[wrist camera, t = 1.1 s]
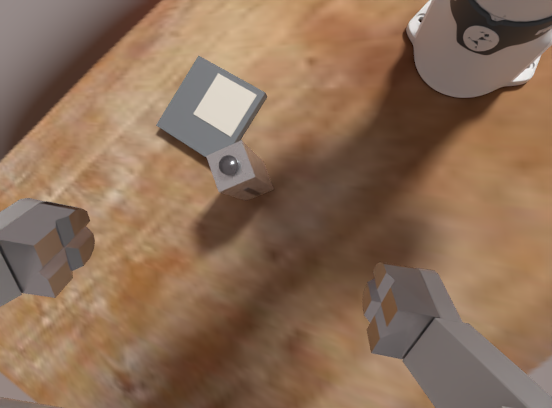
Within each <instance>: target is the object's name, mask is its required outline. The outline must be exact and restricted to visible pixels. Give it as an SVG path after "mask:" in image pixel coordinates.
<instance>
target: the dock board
mask: <svg viewBox="0 0 552 408" xmlns="http://www.w3.org/2000/svg"><path fill="white" fill-rule="evenodd" d="M266 98H267V95H266V93H265V92H263V91H261V90H260V89H258V88H256V87H254V86H252V85H251V84H249V83H247V82H245V81H243V80H242V79H240V78H238V77H236V76H234V75H233V74H231V73H229V72H227V71H225V70H224V69H222V68H220V67H218V66H216V65H215V64H213V63H211V62H209V61H207V60H205V59H204V58H202V57H200V56H198V58H197V59H196V61H195V62H194V64H193V66H192V67H191V69H190V71H189V72H188V74H187V76H186V77H185V79H184V80H183V82H182V84H181V85H180V87H179V89H178V90H177V92H176V94H175V95H174V97H173V99H172V100H171V102H170V103H169V105H168V107H167V108H166V110H165V112H164V113H163V115H162V117H161V118H160V120H159V121H158V123H157V125H156V126H158V127H160V128H161V129H163V130H164V131H166V132H167V133H169V134H170V135H172V136H174V137H175V138H177V139H178V140H180V141H181V142H183V143H185V144H186V145H188V146H189V147H191V148H192V149H194V150H195V151H197V152H199V153H200V154H202V155H203V156H205V157H206V156H207V155H210V154H212V153H214V152H216V151H218V150H221V149H223V148H225V147H227V146H230V145H232V144H234V143H236V142H239V141H240V140H241V138H242V137H243V135H244V133H245V132H246V130H247V128H248V127H249V125H250V124H251V122H252V120H253V119H254V117H255V116H256V114H257V112H258V111H259V109H260V108H261V106H262V104H263V103H264V101H265V100H266ZM206 158H207V157H206Z"/></svg>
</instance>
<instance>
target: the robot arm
mask: <svg viewBox="0 0 552 408" xmlns="http://www.w3.org/2000/svg"><path fill="white" fill-rule="evenodd" d="M419 20H422V22H419ZM406 32H407V35H408V37H409V39H410V40H411V42H412V44H413V48H414V60H415V65H416V68H417V70H418V72H419V74H420V76H421V77H422V79H423V80H424V81H425V82H426V83H427V84H428V85H429V86H430V87H432V88H433V89H435V90H436V91H438V92H440V93H442V94H445V95H448V96H452V97H459V98H470V97H477V96H481V95H484V94H487V93H490V92H492V91H494V90H496V89H498V88H501V87H504V86H515V85H521V84H524V83H526V82H528V81H529V80H530V79H531V78H532V76H533V75H534V72H535V70H536V67H537V65H538V62H539V59H540V57H541V54H542V53H544V52H545V51H546V50H547V49H548V48H549V47H550V46H551V45H552V0H429V1H428V2H427V3H426V4H425V5H424V6H423V7H422V8H421V10H420V11H419V12H418V13H417V14H416V15H415V16H414V17H413V18H412V19H411V20H410V22H409V23H408V25H407V27H406ZM526 68H527V69H526ZM89 222H90V219H89V216H88V213H87V211H85V210H84V209H82V208H77V207H72V206H67V205H62V204H57V203H52V202H47V201H46V202H45V201H40V200H35V199H31V198H25V199H20V200H18V201H17V202H15V203H14V204H12V205H11V206H9V207H8V208H6V209H4V210H3V211H1V212H0V306H2V305H4V304H6V303H8V302H9V301H11V300H13V299H15V298H17V297H18V296H20V295H22V293H26V294H33V295H40V296H47V297H54V298H56V296H57V295H58V294H59V293H60V292H61V291H62V290H63V289H64V287H65V286H66V285H67V284H68V283H69V282H70V281H71V279H72V278H73V270H75V269H78V268H80V267H82V266H84V265H85V263H86V262H87V261H88V260H89V259H90V257H91V255H92V252H93V250H94V244H95V239H94V235H93V233H92V232H91V231H90V230H89V229H88V228H87V227H86V226H87V224H88V223H89ZM373 274H374V279H372V280H371V281H369V282H367V285H366V287H365V289H364V293H363V299H362V303H363V312H364V316H365V317H366V318H367V319H368V321H369V322H370V324H369V326H368V328H367V334H368V339H369V344H370V350H371V353H374V354H379V355H384V356H388V357H393V358H398V359H403V362H404V364H405V365H406V367H407V368H408V369H409V371H410V372H411V374H412V375H413V377H414V378H415V379H416V381H417V382H418V384H419V385H420V386H421V388H422V389H423V391H424V392H425V394H426V395H427V396H428V398H429V399H430V401H431V402H432V403H433V405H434V406H435V408H552V396H551V395H549V394H548V393H547V392H546V391H545V390H544V389H543V388H541V387H540V386H539V385H538V384H537V383H536V382H535V381H533V380H532V379H531V378H530V377H529V376H528V375H527V374H525V373H524V372H523V371H522V370H521V369H520V368H519V367H517V366H516V365H515V364H514V363H513V362H512V361H511V360H510V359H508V358H507V357H506V356H505V355H504V354H503V353H502V352H500V351H499V350H498V349H497V348H496V347H495V346H494V345H492V344H491V343H490V342H489V341H488V340H487V339H486V338H484V337H483V336H482V335H481V334H480V333H479V332H478V331H477V330H475V329H474V328H473V327H472V326H471V325H470V324H468V323H463V322H462V320H461V318H460V316H459V314H458V312H457V310H456V308H455V306H454V304H453V302H452V300H451V298H450V296H449V294H448V292H447V290H446V288H445V286H444V284H443V282H442V280H441V278H440V276H439V275H438V273H436V272H435V271H434V270H428V269H421V268H413V267H408V266H402V265H396V264H390V263H384V262H379V263H378V264H377V265H376V266H375V268H374V270H373ZM0 408H62V407H56V406H50V405H44V404H39V403H33V402H27V401H20V400H15V399H9V398H3V397H0Z"/></svg>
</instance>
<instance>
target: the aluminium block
mask: <svg viewBox="0 0 552 408" xmlns="http://www.w3.org/2000/svg"><path fill="white" fill-rule="evenodd" d="M206 157H207V160H208V163H209V166H210V168H211V171H212V174H213V177H214V180H215V182H216V185H217V188H218V191H219V192H220V193H223V194H226V195H229V196H233V197H236V198H239V199H242V200H245V201H247V200H250V199H252V198H255V197H257V196H259V195H262V194H264V193H267V192H269V191H271V190H274V187H273V185H272V182H271V179H270V177H269V174H268V172H267V169H266V166H265V164H264V161H263V160H262V159H261V158H260V157H259V156H257V155H256V154H255V153H254V152H253V151H252V150H251V149H250V148H249V147H248V146H247V145H246V144H245V143H244V142H243V141H242V140H241V141H239V142H236V143H234V144H232V145H230V146H227V147H225V148H223V149H221V150H218V151H216V152H214V153H212V154H210V155H207V156H206Z"/></svg>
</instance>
